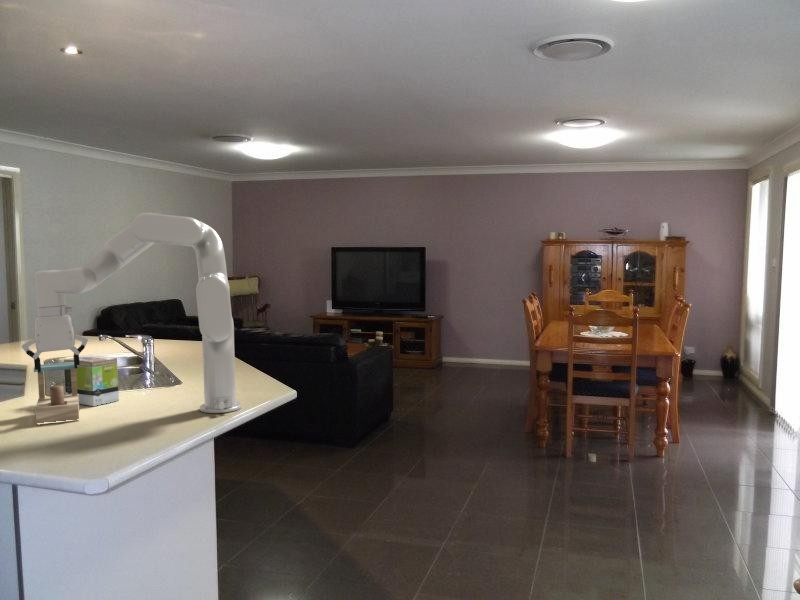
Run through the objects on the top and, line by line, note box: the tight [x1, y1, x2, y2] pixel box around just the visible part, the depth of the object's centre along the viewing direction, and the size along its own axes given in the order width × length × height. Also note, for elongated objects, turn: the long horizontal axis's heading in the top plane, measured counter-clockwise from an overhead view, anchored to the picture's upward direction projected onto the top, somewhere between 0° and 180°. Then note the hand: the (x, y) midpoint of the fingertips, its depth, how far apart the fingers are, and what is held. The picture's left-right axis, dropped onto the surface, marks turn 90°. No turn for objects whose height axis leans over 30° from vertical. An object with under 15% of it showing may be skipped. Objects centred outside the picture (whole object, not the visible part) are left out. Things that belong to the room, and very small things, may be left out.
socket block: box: [33, 362, 80, 423], centre depth 200 cm, size 16×12×15 cm
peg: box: [49, 385, 65, 406], centre depth 196 cm, size 4×4×10 cm
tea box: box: [63, 355, 120, 407], centre depth 220 cm, size 15×10×15 cm, turn 59°
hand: (57, 369), depth 196 cm, fingers open, 9 cm apart
